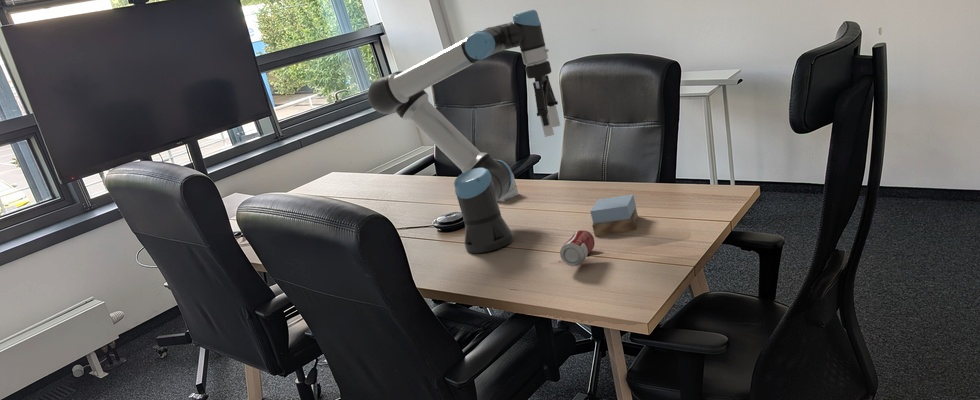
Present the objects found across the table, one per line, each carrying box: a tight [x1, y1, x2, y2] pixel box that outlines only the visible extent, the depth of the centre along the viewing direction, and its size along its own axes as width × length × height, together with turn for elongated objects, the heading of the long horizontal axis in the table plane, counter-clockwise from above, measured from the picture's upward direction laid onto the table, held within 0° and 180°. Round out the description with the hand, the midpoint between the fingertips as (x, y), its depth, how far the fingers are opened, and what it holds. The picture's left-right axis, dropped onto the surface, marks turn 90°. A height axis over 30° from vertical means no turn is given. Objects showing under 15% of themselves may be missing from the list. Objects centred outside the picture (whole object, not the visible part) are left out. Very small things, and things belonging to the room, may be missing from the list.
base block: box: [592, 207, 639, 237], centre depth 223 cm, size 12×12×4 cm
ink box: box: [497, 174, 519, 202], centre depth 278 cm, size 8×8×12 cm
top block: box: [590, 193, 637, 225], centre depth 222 cm, size 11×11×4 cm
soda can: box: [559, 229, 595, 267], centre depth 204 cm, size 7×7×12 cm
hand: (552, 131), depth 229 cm, fingers open, 13 cm apart
